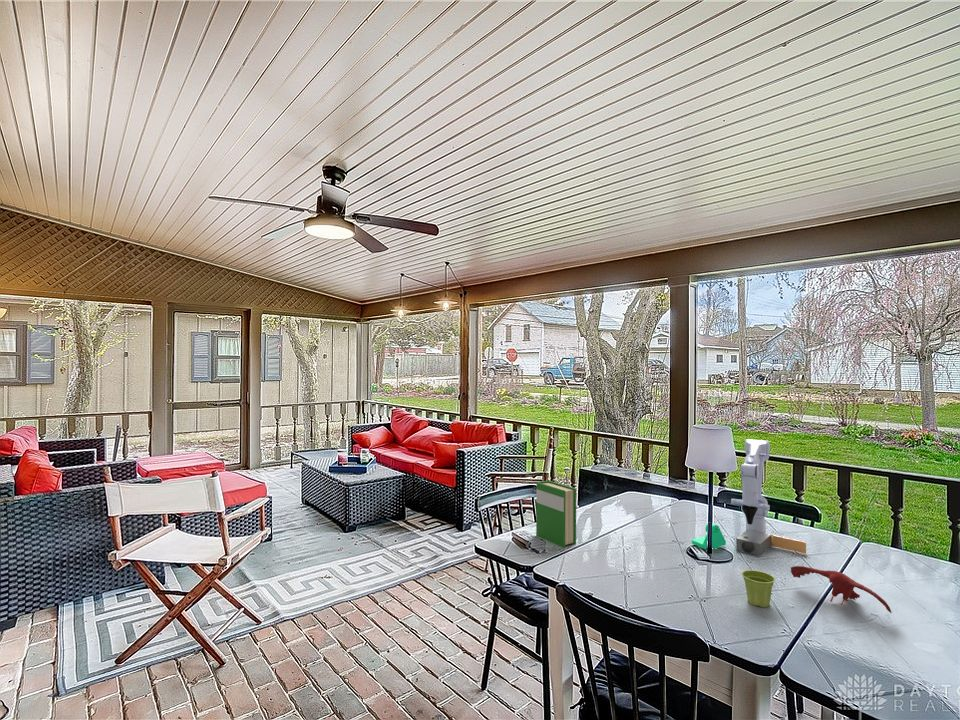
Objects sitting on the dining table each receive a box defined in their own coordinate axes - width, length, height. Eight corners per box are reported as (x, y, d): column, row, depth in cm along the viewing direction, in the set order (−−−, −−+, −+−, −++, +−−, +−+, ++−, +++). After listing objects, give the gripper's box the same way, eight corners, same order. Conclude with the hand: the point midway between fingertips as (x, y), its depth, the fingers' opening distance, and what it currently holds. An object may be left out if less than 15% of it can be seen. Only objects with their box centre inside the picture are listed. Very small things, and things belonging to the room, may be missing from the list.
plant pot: (759, 612, 149) (759, 584, 149) (735, 598, 158) (735, 571, 158) (782, 608, 151) (782, 580, 151) (757, 594, 160) (757, 568, 160)
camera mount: (710, 541, 210) (710, 518, 210) (725, 547, 203) (725, 523, 203) (690, 545, 205) (690, 521, 205) (705, 551, 198) (705, 527, 198)
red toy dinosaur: (797, 597, 168) (780, 571, 163) (808, 575, 171) (791, 549, 166) (896, 637, 143) (879, 608, 138) (907, 611, 146) (890, 581, 141)
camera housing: (747, 540, 211) (747, 527, 211) (771, 546, 204) (771, 532, 205) (735, 550, 199) (735, 537, 199) (759, 557, 192) (759, 543, 192)
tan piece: (770, 545, 203) (770, 535, 203) (771, 544, 204) (771, 534, 205) (805, 553, 195) (805, 542, 195) (806, 552, 196) (806, 541, 196)
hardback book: (576, 544, 205) (576, 488, 206) (563, 547, 201) (563, 490, 202) (548, 532, 220) (548, 480, 220) (536, 535, 216) (536, 482, 216)
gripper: (728, 490, 207) (728, 521, 207) (766, 496, 197) (766, 529, 197) (733, 487, 212) (734, 518, 212) (770, 493, 202) (771, 525, 202)
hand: (750, 523), depth 205 cm, fingers closed
